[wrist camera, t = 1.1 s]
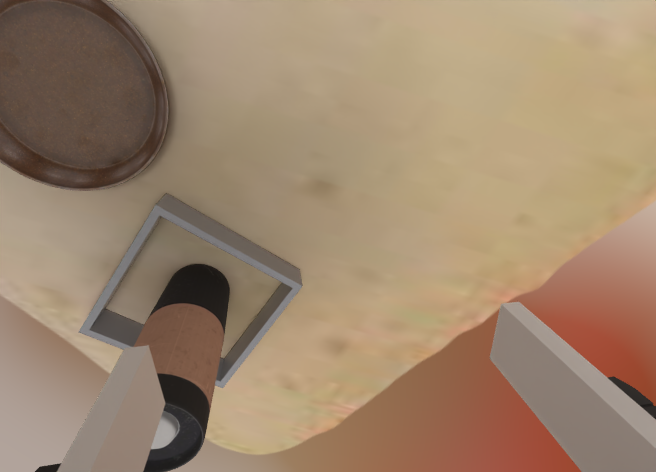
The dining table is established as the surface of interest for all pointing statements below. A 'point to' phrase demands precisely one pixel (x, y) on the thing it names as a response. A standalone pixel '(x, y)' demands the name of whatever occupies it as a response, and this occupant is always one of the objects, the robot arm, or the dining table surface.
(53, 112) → the plant saucer
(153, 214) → the grey open square frame
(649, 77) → the dining table surface
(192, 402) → the travel mug
